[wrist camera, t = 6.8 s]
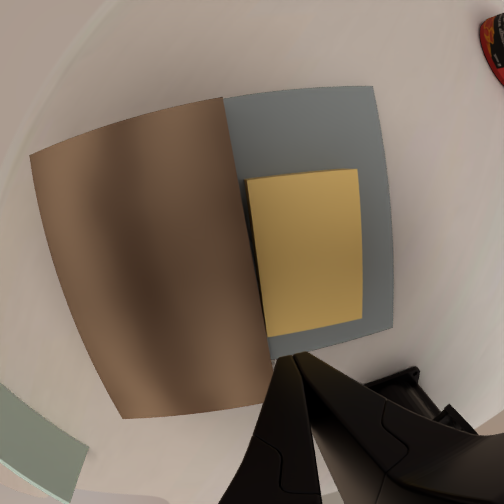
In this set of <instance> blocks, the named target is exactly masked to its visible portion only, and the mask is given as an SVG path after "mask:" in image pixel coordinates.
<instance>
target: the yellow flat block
mask: <svg viewBox="0 0 504 504" xmlns="http://www.w3.org/2000/svg"><path fill="white" fill-rule="evenodd" d="M244 182H245V190H246V197H247V205H248V212H249V220H250V227H251V235H252V242H253V250H254V257H255V265H256V273H257V280H258V288H259V295H260V303H261V309H262V314H263V320H264V325H265V330H266V334H267V337H273V336H279V335H284V334H290V333H295V332H300V331H305V330H310V329H315V328H320V327H325V326H330V325H334V324H339V323H344V322H348V321H352V320H357V319H361V318H362V296H363V266H362V230H361V210H360V195H359V182H358V171H357V169H345V168H343V169H331V170H319V171H309V172H299V173H290V174H281V175H272V176H264V177H256V178H249V179H244Z"/></svg>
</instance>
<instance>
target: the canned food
mask: <svg viewBox="0 0 504 504" xmlns="http://www.w3.org/2000/svg"><path fill="white" fill-rule="evenodd" d="M480 39H481V44H482V48H483V51H484V54H485V56H486V59H487V61H488V63H489V65H490V67H491V69H492V70H493V72H494V74H495V75H496V77H497V78H498V79H499V81H500V82H501V83H502V84H503V85H504V13H502V14H499V15H496V16H494V17H491V18H488V19H487V20H486V21H485V22H484V23H483V24H482V25H481V28H480Z"/></svg>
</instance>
